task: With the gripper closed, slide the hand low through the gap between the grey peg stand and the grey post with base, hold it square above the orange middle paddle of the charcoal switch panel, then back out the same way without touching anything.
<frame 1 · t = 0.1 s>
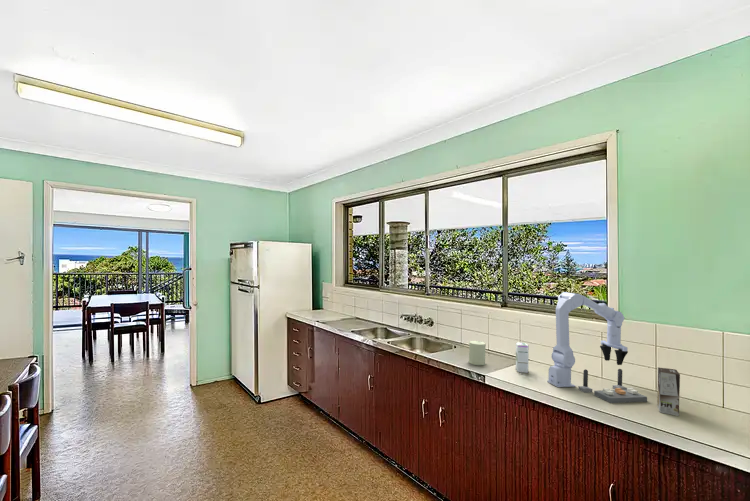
hand: (613, 362, 185), 10 cm above the counter, tool pointing down, fingers open, 7 cm apart
coffee box: (667, 411, 152), on the counter
middle paddle: (620, 391, 164), point 3 cm above the counter, hinge at 0.0°
switch panel: (620, 398, 164), on the counter
grey peg stand: (585, 390, 173), on the counter
can: (476, 363, 214), on the counter
syrup box: (521, 371, 201), on the counter
right paddle: (632, 390, 165), point 3 cm above the counter, hinge at 0.0°
left paddle: (608, 391, 163), point 3 cm above the counter, hinge at 0.0°
grey post with base: (619, 389, 176), on the counter
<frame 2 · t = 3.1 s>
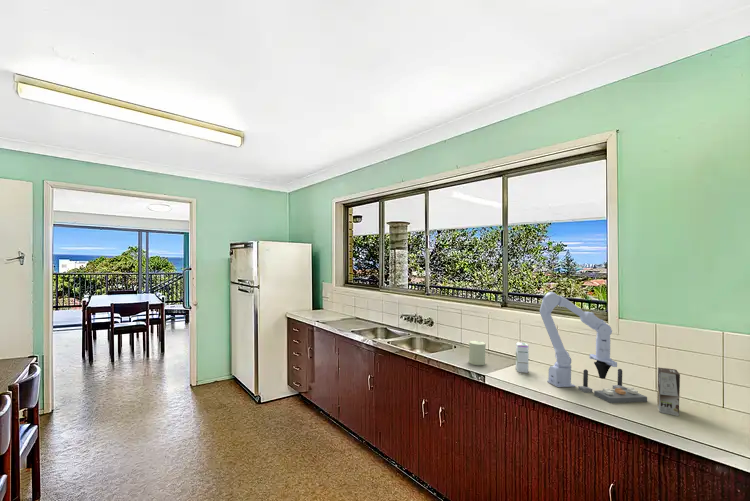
hand: (602, 378, 175), 5 cm above the counter, tool pointing down, fingers closed
nothing on the counter moved.
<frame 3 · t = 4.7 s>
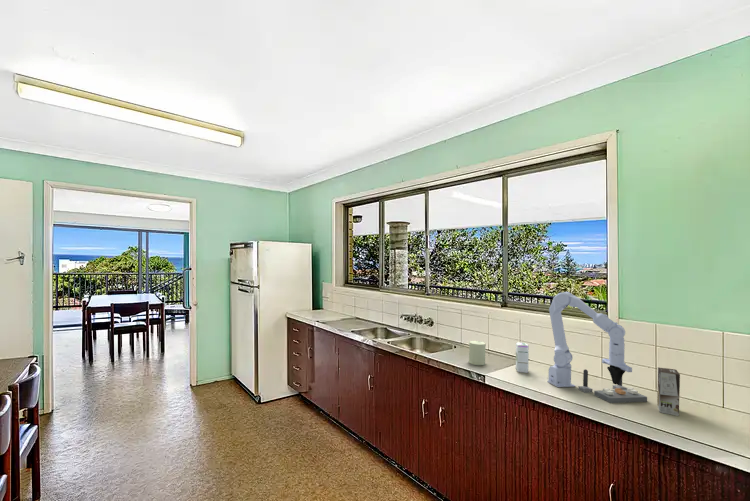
hand: (616, 383, 167), 5 cm above the counter, tool pointing down, fingers closed
nothing on the counter moved.
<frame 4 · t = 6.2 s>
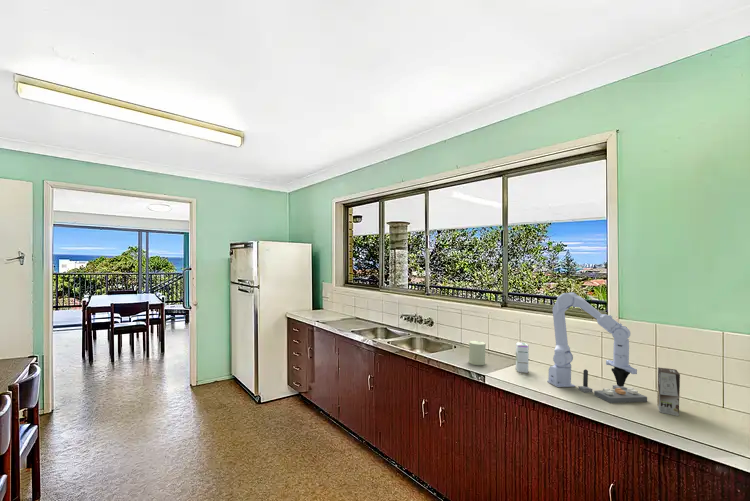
hand: (620, 385, 164), 5 cm above the counter, tool pointing down, fingers closed
nothing on the counter moved.
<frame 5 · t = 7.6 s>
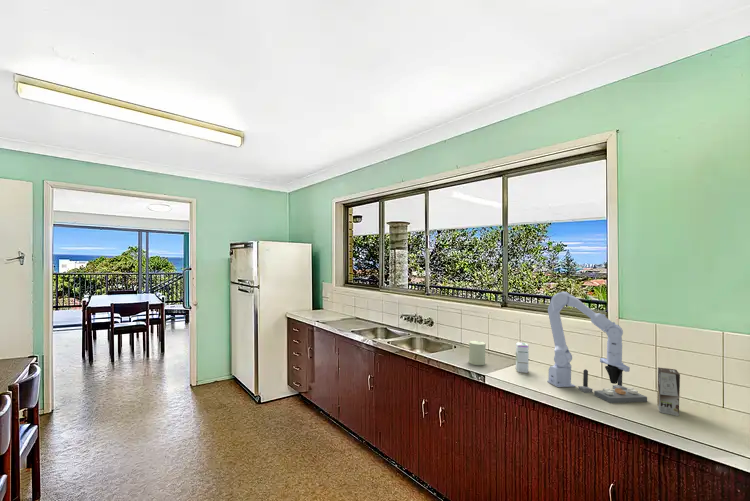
hand: (613, 383, 168), 5 cm above the counter, tool pointing down, fingers closed
nothing on the counter moved.
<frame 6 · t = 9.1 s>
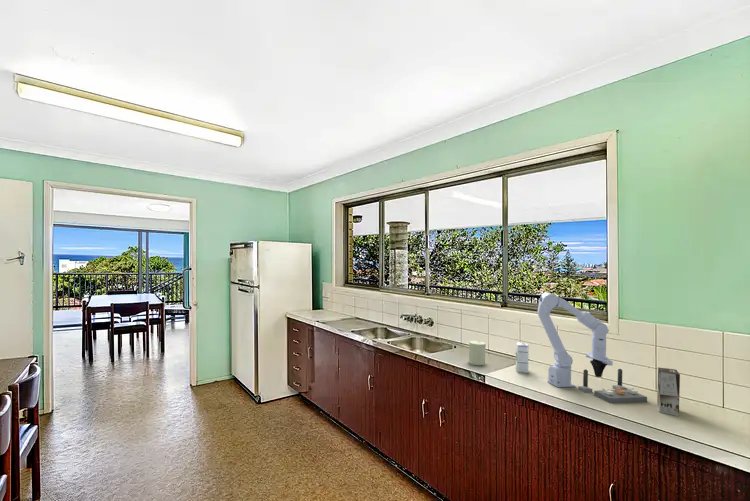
hand: (598, 376, 177), 5 cm above the counter, tool pointing down, fingers closed
nothing on the counter moved.
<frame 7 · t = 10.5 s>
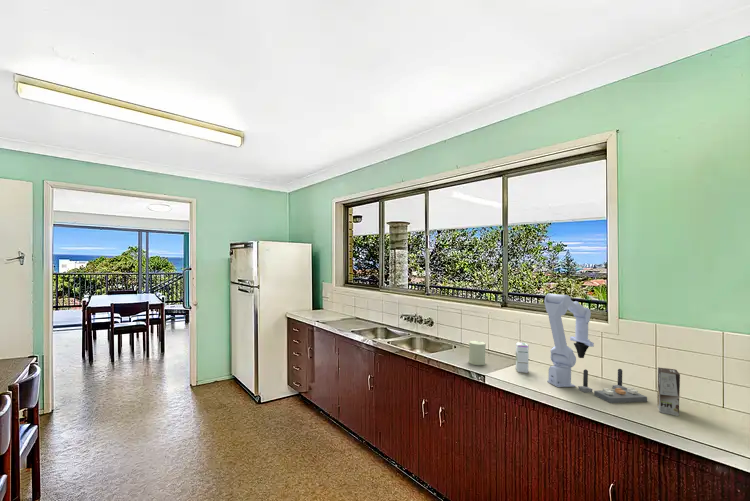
hand: (581, 357, 191), 10 cm above the counter, tool pointing down, fingers closed
nothing on the counter moved.
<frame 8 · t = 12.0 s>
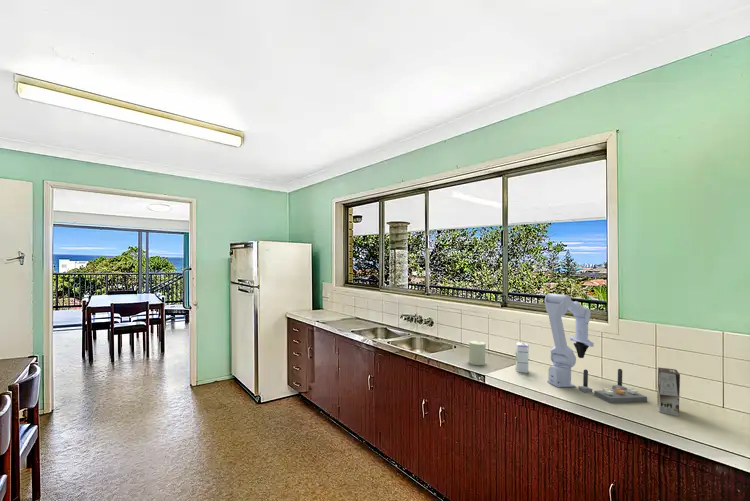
hand: (580, 357, 191), 10 cm above the counter, tool pointing down, fingers closed
nothing on the counter moved.
at the end: grey peg stand moved 0.1 cm from its start; grey post with base moved 0.1 cm from its start; middle paddle at +0° (first picture: +0°) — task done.
